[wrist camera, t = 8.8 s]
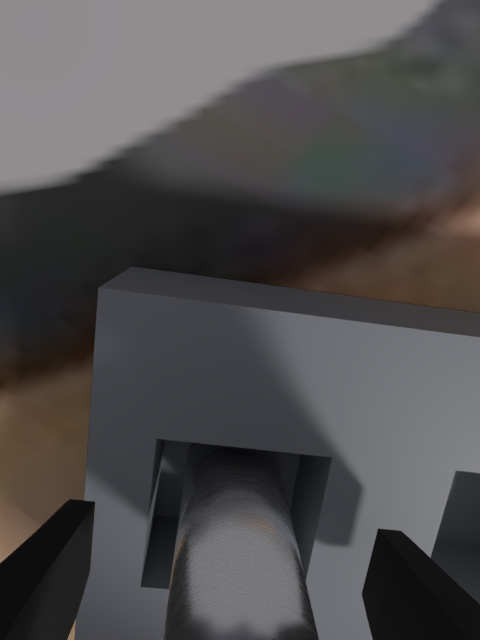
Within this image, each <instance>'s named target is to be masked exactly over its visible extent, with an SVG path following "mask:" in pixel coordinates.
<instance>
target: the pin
mask: <svg viewBox="0 0 480 640" xmlns="http://www.w3.org/2000/svg"><path fill="white" fill-rule="evenodd" d="M162 640H319V637H318V633H317V629H316V624H315V620H314V616H313V611H312V607H311V603H310V598H309V594H308V590H307V585H306V581H305V576H304V572H303V568H302V563H301V559H300V555H299V550H298V546H297V542H296V537H295V533H294V529H293V524H292V520H291V516H290V511H289V507H288V503H287V498H286V494H285V490H284V485H283V481H282V477H281V472H280V468H279V464H278V459H277V455H276V451H267V450H257V449H248V448H239V447H229V446H220V445H210V444H201V443H192V444H191V446H190V448H189V451H188V456H187V464H186V471H185V478H184V486H183V493H182V500H181V507H180V515H179V522H178V529H177V537H176V544H175V551H174V558H173V566H172V573H171V580H170V588H169V595H168V602H167V609H166V617H165V624H164V631H163V638H162Z"/></svg>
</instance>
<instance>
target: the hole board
mask: <svg viewBox="0 0 480 640" xmlns="http://www.w3.org/2000/svg"><path fill="white" fill-rule="evenodd" d="M192 443H201V444H210V445H220V446H229V447H239V448H248V449H257V450H267V451H276V455H277V459H278V464H279V468H280V472H281V477H282V481H283V485H284V490H285V494H286V498H287V503H288V507H289V511H290V516H291V520H292V524H293V529H294V533H295V537H296V542H297V546H298V550H299V555H300V559H301V563H302V568H303V572H304V576H305V581H306V585H307V590H308V594H309V598H310V603H311V607H312V611H313V616H314V620H315V624H316V629H317V633H318V637H319V640H373V639H372V635H371V631H370V627H369V623H368V619H367V615H366V611H365V606H364V602H363V597H362V590H363V586H364V582H365V578H366V574H367V570H368V566H369V562H370V558H371V554H372V551H373V547H374V543H375V539H376V535H377V531H378V529H388V530H399V531H402V532H403V533H404V534H405V535H406V536H408V537H409V538H410V539H411V540H412V541H413V542H414V543H415V544H416V545H417V546H418V547H419V548H421V549H422V550H423V551H424V552H425V553H426V554H427V555H428V556H429V557H430V558H431V559H432V560H433V561H434V562H435V563H436V564H437V565H438V566H439V567H440V568H442V569H443V570H444V571H445V572H446V573H447V574H448V575H449V576H450V577H451V578H452V579H453V580H454V581H455V582H456V583H457V584H458V585H459V586H461V587H462V588H463V589H464V590H465V591H466V592H467V593H468V594H469V595H470V596H471V597H472V598H474V599H475V600H476V601H477V602H478V603H479V604H480V313H474V312H467V311H459V310H452V309H444V308H437V307H430V306H422V305H415V304H407V303H400V302H392V301H385V300H378V299H370V298H363V297H355V296H348V295H341V294H333V293H326V292H318V291H311V290H303V289H296V288H289V287H281V286H274V285H266V284H259V283H252V282H244V281H237V280H229V279H222V278H214V277H207V276H200V275H192V274H185V273H177V272H170V271H163V270H155V269H148V268H140V267H133V266H132V267H130V268H129V269H127V270H125V271H124V272H122V273H121V274H119V275H118V276H116V277H114V278H113V279H111V280H110V281H108V282H106V283H105V284H103V285H102V286H100V287H98V299H97V314H96V329H95V344H94V358H93V373H92V388H91V403H90V418H89V433H88V448H87V463H86V478H85V493H84V501H93V502H95V512H94V525H93V539H92V552H91V566H90V573H89V577H88V580H87V583H86V587H85V590H84V594H83V597H82V600H81V604H80V607H79V610H78V613H77V616H76V627H75V640H162V638H163V631H164V624H165V617H166V609H167V602H168V595H169V588H170V580H171V573H172V566H173V558H174V551H175V544H176V537H177V529H178V522H179V515H180V507H181V500H182V493H183V486H184V478H185V471H186V464H187V456H188V451H189V448H190V446H191V444H192Z"/></svg>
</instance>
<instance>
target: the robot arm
mask: <svg viewBox="0 0 480 640" xmlns="http://www.w3.org/2000/svg"><path fill="white" fill-rule="evenodd" d="M94 512H95V502H93V501H82V500H72V499H70V500H69V501H67V502H66V503H65V504H64V505H63V506H62V507H61V508H60V509H59V510H58V511H57V512H56V513H55V514H53V515H52V516H51V517H50V518H49V519H48V520H47V521H46V522H45V523H44V524H43V525H42V526H41V527H40V528H39V529H38V530H37V531H36V532H35V533H34V534H33V535H32V536H30V537H29V538H28V539H27V540H26V541H25V542H24V543H23V544H22V545H20V546H19V547H18V548H17V549H16V550H15V551H14V552H13V553H12V554H10V555H9V556H8V557H7V558H6V559H5V560H4V561H2V562H1V563H0V640H67V638H68V636H69V634H70V631H71V629H72V626H73V624H74V621H75V619H76V616H77V613H78V610H79V607H80V604H81V600H82V597H83V594H84V590H85V587H86V583H87V580H88V577H89V573H90V566H91V552H92V539H93V525H94ZM362 597H363V602H364V606H365V611H366V615H367V619H368V623H369V627H370V631H371V635H372V639H373V640H480V604H479V603H478V602H477V601H476V600H475V599H474V598H472V597H471V596H470V595H469V594H468V593H467V592H466V591H465V590H464V589H463V588H462V587H461V586H459V585H458V584H457V583H456V582H455V581H454V580H453V579H452V578H451V577H450V576H449V575H448V574H447V573H446V572H445V571H444V570H443V569H442V568H440V567H439V566H438V565H437V564H436V563H435V562H434V561H433V560H432V559H431V558H430V557H429V556H428V555H427V554H426V553H425V552H424V551H423V550H422V549H421V548H419V547H418V546H417V545H416V544H415V543H414V542H413V541H412V540H411V539H410V538H409V537H408V536H406V535H405V534H404V533H403V532H402V531H399V530H388V529H378V531H377V535H376V539H375V543H374V547H373V551H372V554H371V558H370V562H369V566H368V570H367V574H366V578H365V582H364V586H363V590H362Z"/></svg>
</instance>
